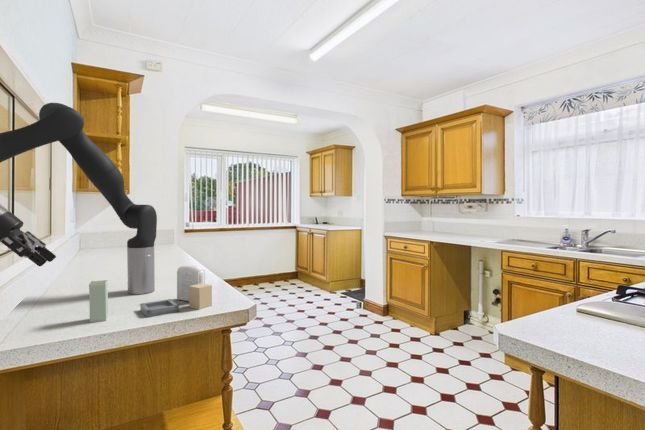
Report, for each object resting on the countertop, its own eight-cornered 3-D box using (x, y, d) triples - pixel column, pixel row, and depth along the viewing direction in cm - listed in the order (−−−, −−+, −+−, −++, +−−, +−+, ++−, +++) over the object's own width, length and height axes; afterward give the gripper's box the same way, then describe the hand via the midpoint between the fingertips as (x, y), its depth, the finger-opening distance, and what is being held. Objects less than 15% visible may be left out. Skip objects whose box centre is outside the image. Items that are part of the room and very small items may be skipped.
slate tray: (140, 310, 114) (140, 303, 114) (170, 305, 119) (170, 299, 119) (147, 317, 107) (147, 310, 107) (178, 311, 112) (178, 305, 112)
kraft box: (189, 307, 117) (189, 286, 117) (201, 303, 122) (201, 283, 121) (199, 309, 115) (199, 288, 115) (211, 306, 119) (211, 285, 119)
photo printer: (207, 300, 126) (206, 265, 125) (198, 303, 122) (198, 267, 121) (183, 297, 130) (183, 263, 129) (175, 300, 126) (174, 265, 125)
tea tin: (92, 318, 106) (91, 281, 105) (108, 316, 107) (107, 280, 107) (89, 322, 102) (88, 284, 102) (106, 320, 104) (105, 283, 103)
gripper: (-4, 211, 89) (53, 254, 94) (18, 210, 102) (66, 248, 107) (-32, 232, 87) (28, 276, 92) (-6, 229, 100) (45, 267, 105)
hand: (48, 261), depth 99 cm, fingers open, 8 cm apart
